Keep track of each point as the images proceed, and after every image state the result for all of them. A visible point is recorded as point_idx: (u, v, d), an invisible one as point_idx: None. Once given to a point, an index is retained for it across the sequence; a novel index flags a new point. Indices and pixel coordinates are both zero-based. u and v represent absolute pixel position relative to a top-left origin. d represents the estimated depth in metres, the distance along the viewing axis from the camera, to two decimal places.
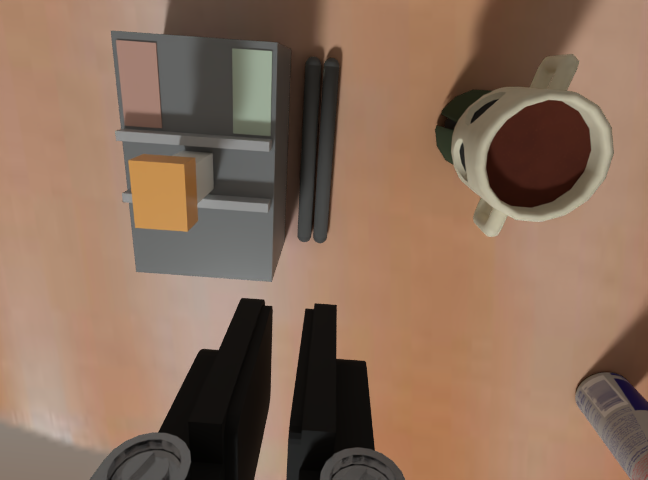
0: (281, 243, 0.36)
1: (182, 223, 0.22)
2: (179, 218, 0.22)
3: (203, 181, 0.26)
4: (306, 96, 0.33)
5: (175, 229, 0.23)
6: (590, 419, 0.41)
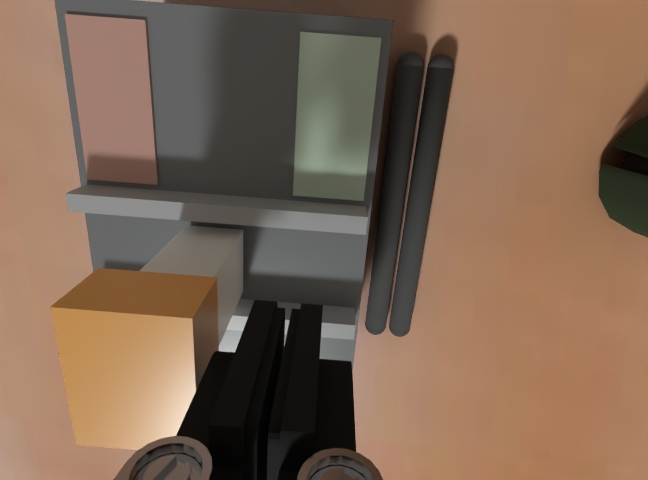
0: None
1: None
2: None
3: (228, 295, 0.13)
4: (396, 117, 0.20)
5: None
6: None
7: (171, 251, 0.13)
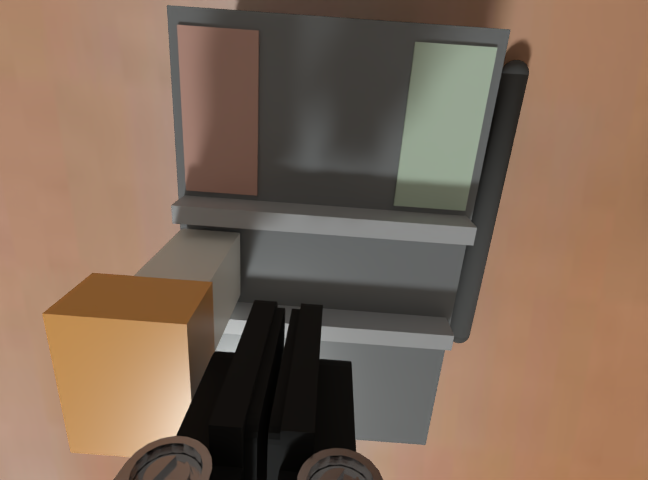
0: None
1: None
2: None
3: (224, 299, 0.13)
4: None
5: None
6: None
7: (167, 255, 0.12)
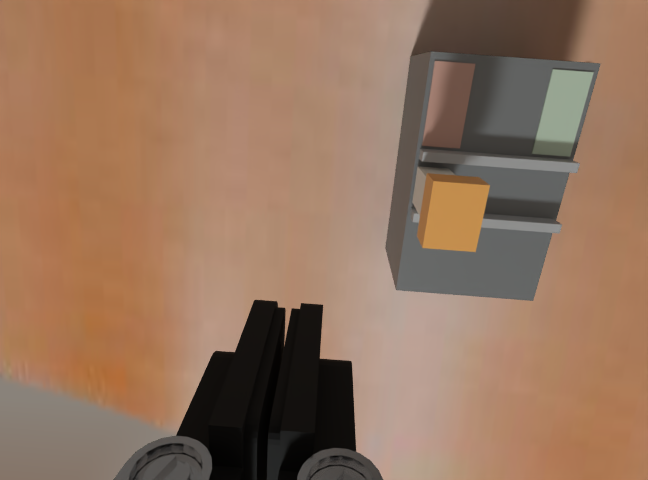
0: None
1: (472, 243, 0.22)
2: (470, 239, 0.22)
3: None
4: None
5: (463, 249, 0.22)
6: None
7: None
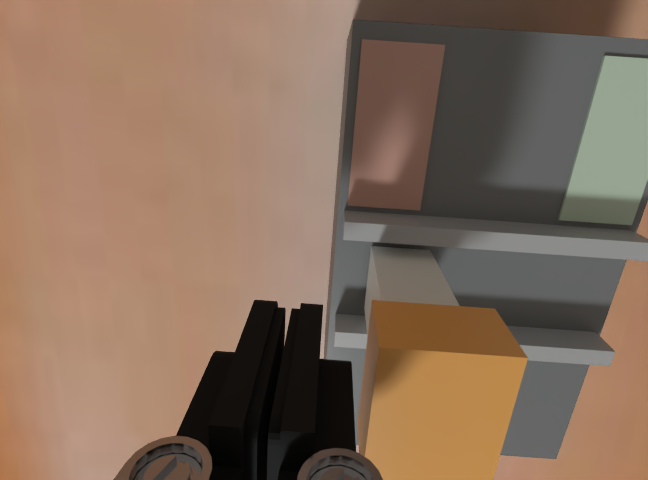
0: None
1: (481, 478, 0.09)
2: (477, 469, 0.09)
3: None
4: None
5: None
6: None
7: (388, 276, 0.12)
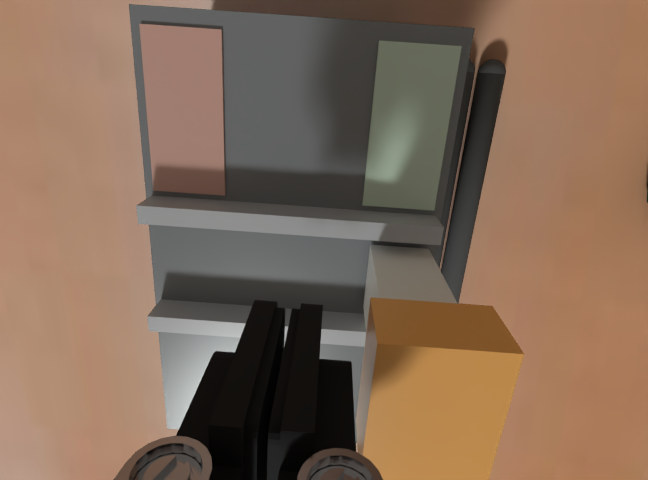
0: None
1: (478, 473, 0.09)
2: (474, 464, 0.09)
3: None
4: None
5: None
6: None
7: (387, 274, 0.12)
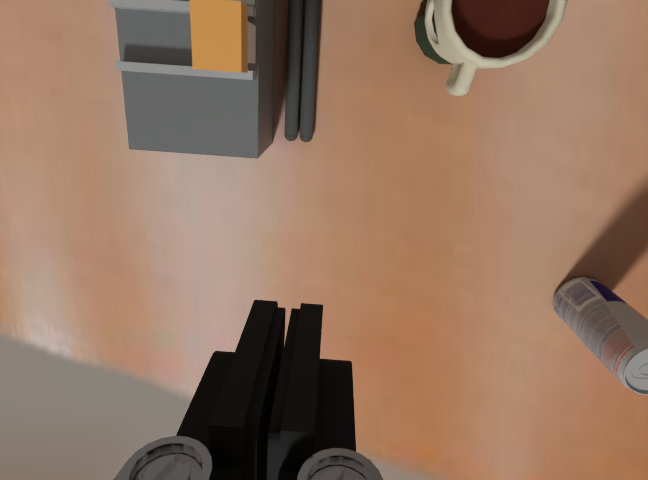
0: (268, 137, 0.38)
1: (236, 63, 0.24)
2: (234, 58, 0.24)
3: (249, 45, 0.28)
4: None
5: (230, 70, 0.24)
6: (566, 318, 0.43)
7: None
